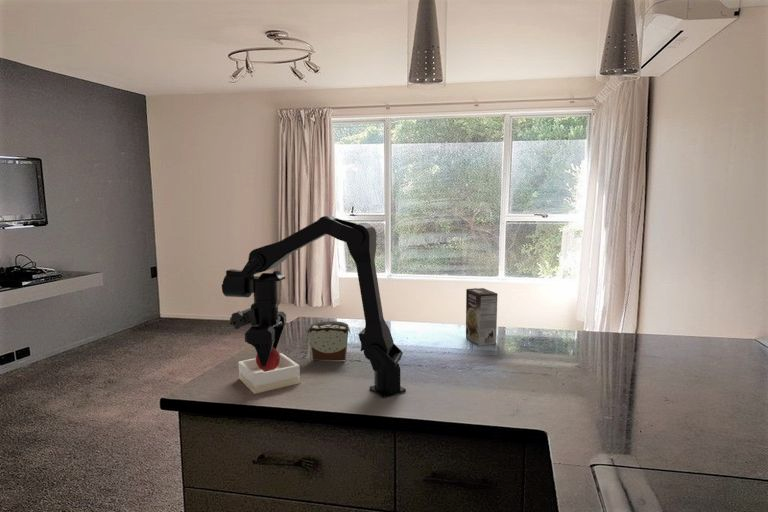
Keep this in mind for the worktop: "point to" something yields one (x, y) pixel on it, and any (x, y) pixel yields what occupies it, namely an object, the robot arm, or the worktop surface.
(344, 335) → the food container
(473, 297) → the coffee box
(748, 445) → the worktop surface
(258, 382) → the open white tray
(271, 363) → the onion
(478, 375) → the worktop surface
